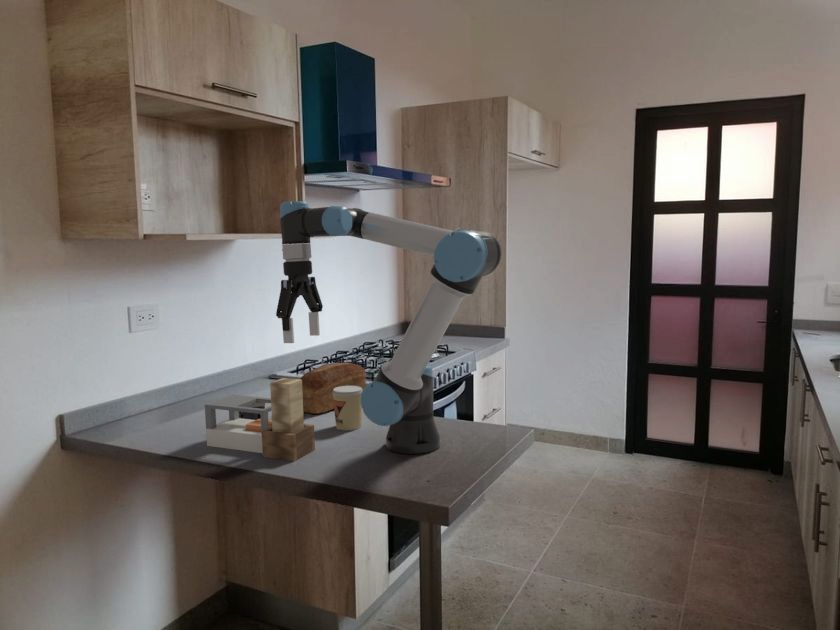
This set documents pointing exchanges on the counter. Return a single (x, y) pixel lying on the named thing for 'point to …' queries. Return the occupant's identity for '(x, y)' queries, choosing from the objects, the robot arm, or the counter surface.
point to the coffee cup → (347, 407)
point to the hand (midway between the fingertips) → (302, 339)
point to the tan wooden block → (287, 405)
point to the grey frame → (235, 423)
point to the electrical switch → (252, 415)
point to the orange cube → (256, 425)
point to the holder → (288, 443)
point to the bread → (329, 384)
